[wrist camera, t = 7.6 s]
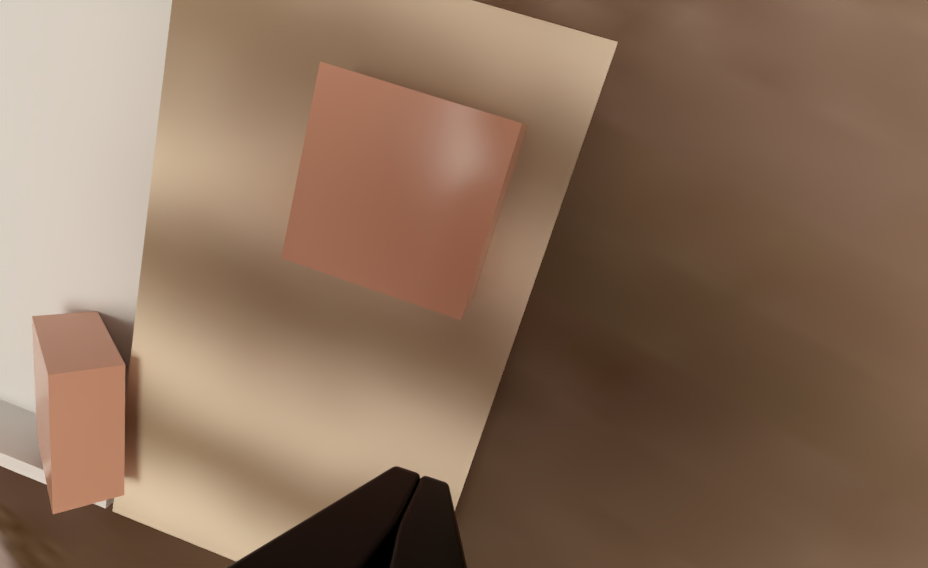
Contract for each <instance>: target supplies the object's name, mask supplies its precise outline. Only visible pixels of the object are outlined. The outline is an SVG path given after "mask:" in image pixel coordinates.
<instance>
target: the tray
mask: <svg viewBox="0 0 928 568" xmlns="http://www.w3.org/2000/svg"><path fill="white" fill-rule="evenodd" d="M171 6H172V0H0V466H2V467H5V468H7V469H9V470H12V471H14V472H17V473H19V474H22V475H24V476H27V477H29V478H32V479H34V480H37V481H39V482H42V483H44V484H47V483H46V479H45V474H44V469H43V464H42V459H41V454H40V449H39V444H38V439H37V428H36V403H35V379H34V355H33V330H32V316H39V315H53V314H67V313H81V312H95V311H98V313H99V315H100V317H101V319H102V321H103V323H104V325H105V327H106V329H107V331H108V332H109V334H110V336H111V338H112V340H113V342H114V344H115V346H116V348H117V350H118V352H119V354H120V356H121V357H122V359H123V361H124V363H125V401H126V392H127V384H128V375H129V366H130V358H131V349H132V341H133V332H134V324H135V315H136V306H137V298H138V289H139V281H140V272H141V264H142V255H143V246H144V238H145V229H146V221H147V212H148V204H149V195H150V186H151V178H152V169H153V161H154V152H155V143H156V135H157V126H158V118H159V109H160V101H161V92H162V83H163V75H164V66H165V58H166V49H167V41H168V32H169V23H170V15H171ZM113 502H114V498H112V499H108V500H104V501H100V502H97V503H93V504H96V505H98V506H101V507H103V508H107V507H108V506H109V505H110V504H112V503H113Z"/></svg>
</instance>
